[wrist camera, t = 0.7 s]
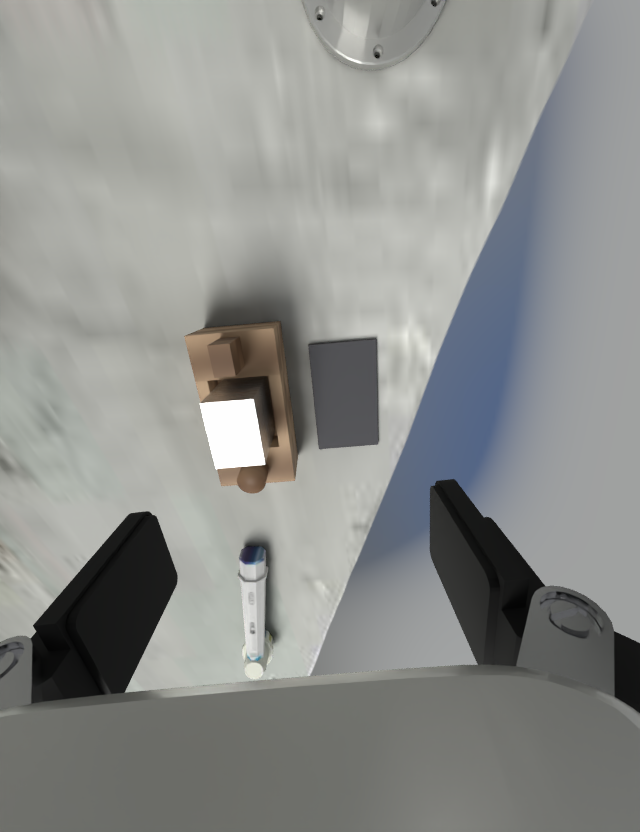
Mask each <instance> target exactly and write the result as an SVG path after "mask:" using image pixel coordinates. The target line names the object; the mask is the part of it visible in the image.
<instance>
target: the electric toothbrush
mask: <svg viewBox="0 0 640 832" xmlns="http://www.w3.org/2000/svg"><path fill="white" fill-rule="evenodd" d="M239 561H240V570H239V573H238V578H239V579H240V582H241V593H242V605H243V616H244V628H245V639H246V641H245V643H244V645H243V648H242V656H243V658H244V660H245V662H244V669H245V673H246V675H247V676H248V677H249V678H251V679H258V678H260V677H261V676H262V675H263V673H264V671H265V670H266V666H267V664H269V662H270V661H271V659H272V657H273V645H272V643H273V636H271V635H270V633H269V631H267V630H265V596H266V578H267V573H268V567H267V566H266V550H265V549H264V548H263V547H259V546H248V547H246V548H244V549H242V550H241V553H240V556H239Z"/></svg>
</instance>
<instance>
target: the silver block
mask: <svg viewBox="0 0 640 832" xmlns="http://www.w3.org/2000/svg"><path fill="white" fill-rule="evenodd" d="M200 407H201V411H202V415H203V419H204V423H205V427H206V431H207V435H208V439H209V443H210V447H211V451H212V455H213V459H214V463H215V467H216V468H229V467H242V466H255V465H265V464H266V460H267V457H268V453H269V450H270V446H271V443H272V440H273V436H274V433H275V426H274V419H273V413H272V407H271V400H270V394H269V388H268V381H267V376H257V377H245V378H234V379H223V380H222V381H221V382H220V383H219V384H218V385H217V386H216V387H215V388H214V389H213V390H212V391H211V392H210V393H209V394H208V395H207V396H206V397H205V399H204V400H203V401H202V402H201V403H200Z"/></svg>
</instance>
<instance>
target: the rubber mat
mask: <svg viewBox="0 0 640 832" xmlns="http://www.w3.org/2000/svg"><path fill="white" fill-rule="evenodd" d="M309 355H310V365H311V375H312V385H313V395H314V405H315V415H316V425H317V435H318V445H319V449H326V448H339V447H351V446H364V445H377V444H378V411H377V358H376V339H367V340H356V341H345V342H333V343H322V344H311V345H309Z"/></svg>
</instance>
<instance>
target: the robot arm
mask: <svg viewBox="0 0 640 832" xmlns="http://www.w3.org/2000/svg"><path fill="white" fill-rule="evenodd" d="M302 1H303V6H304V9H305V12H306V14H307V17H308V20H309V22H310V25H311V27H312V29H313V30H314V32H315V34H316V36H317V37H318V39H319V41H320V42H321V43H322V44H323V45H324V47H325V48H326V49H327V50H328V52H329V53H331V54H332V55H333V56H334V57H336V58H337V59H338V60H339V61H340V62H342V63H344V64H347V65H349V66H351V67H353V68H357V69H362V70H366V71H367V70H381V69H384V68H387V67H391V66H394V65H395V64H397V63H399V62H401V61H402V60H404V59H406V58H407V57H408V56H409V55H410V54H412V53H413V52H414V51H415V50H416V49H417V48H418V47H419V46H420V45H421V43H422V42H423V41H424V40H425V38H426V37H427V36H428V35H429V33H430V31H431V30H432V28H433V26H434V24H435V23H436V21H437V19H438V17H439V15H440V13H441V10H442V8H443V6H444V4H445V1H446V0H302ZM432 4H434V6H435V7H434V6H432ZM318 18H322V19H323V20H321V21H320V20H317V19H318ZM375 55H378V56H379V58H375V57H374V56H375ZM430 553H431V558H432V561H433V563H434V566H435V568H436V570H437V573H438V575H439V577H440V579H441V582H442V584H443V586H444V588H445V591H446V593H447V595H448V598H449V600H450V602H451V605H452V607H453V609H454V611H455V614H456V616H457V618H458V620H459V623H460V625H461V627H462V630H463V632H464V634H465V636H466V639H467V641H468V643H469V645H470V648H471V650H472V652H473V655H474V657H475V659H476V661H477V663H478V665H454V666H438V667H422V668H406V669H392V670H380V671H367V672H355V673H343V674H331V675H318V676H306V677H294V678H283V679H271V680H260V681H248V682H237V683H226V684H214V685H203V686H192V687H181V688H171V689H160V690H149V691H139V692H128V693H124V692H125V690H126V688H127V686H128V684H129V682H130V680H131V678H132V676H133V674H134V672H135V670H136V668H137V666H138V664H139V661H140V659H141V657H142V655H143V653H144V651H145V649H146V647H147V645H148V643H149V641H150V639H151V637H152V635H153V633H154V631H155V628H156V626H157V624H158V622H159V620H160V618H161V616H162V614H163V612H164V610H165V608H166V606H167V604H168V602H169V600H170V598H171V595H172V593H173V591H174V589H175V587H176V585H177V579H178V578H177V572H176V570H175V567H174V564H173V561H172V558H171V556H170V553H169V550H168V547H167V544H166V542H165V539H164V536H163V533H162V530H161V528H160V525H159V522H158V519H157V517H156V516H155V515H152V514H151V513H150V512H148V511H147V512H137V513H131V514H129V515H128V516H127V517H126V518H125V519H124V521H123V522H122V523H121V524H120V525H119V526H118V527H117V529H116V530H115V531H114V532H113V533H112V534H111V536H110V537H109V538H108V539H107V540H106V541H105V543H104V544H103V545H102V546H101V547H100V548H99V550H98V551H97V552H96V553H95V554H94V555H93V557H92V558H91V559H90V560H89V561H88V562H87V563H86V565H85V566H84V567H83V568H82V569H81V570H80V572H79V573H78V574H77V575H76V576H75V577H74V579H73V580H72V581H71V582H70V583H69V584H68V586H67V587H66V588H65V589H64V590H63V591H62V593H61V594H60V595H59V596H58V597H57V598H56V599H55V601H54V602H53V603H52V604H51V605H50V606H49V608H48V609H47V610H46V611H45V612H44V613H43V615H42V616H41V617H40V618H39V619H38V620H37V622H36V623H35V624H34V625H33V627H34V628H35V630H36V633H35V634H34V635H33V637H32V638H29V637H27V636H16V637H12V638H8V639H6V640H4V641H2V642H0V832H640V643H638V642H636V641H634V640H632V639H630V638H628V637H625V636H623V635H621V634H619V633H617V632H615V631H614V629H613V625H612V622H611V620H610V619H609V617H608V616H607V614H606V613H605V612H604V611H603V610H602V609H601V608H600V607H599V606H598V605H597V604H596V603H595V602H593V601H592V600H591V599H589V598H588V597H586V596H585V595H582V594H580V593H578V592H576V591H574V590H571V589H567V588H564V587H560V586H545V585H544V584H543V583H542V582H541V580H540V579H539V578H538V576H537V575H536V574H535V572H534V571H533V570H532V569H531V568H530V566H529V565H528V564H527V562H526V561H525V560H524V559H523V557H522V556H521V555H520V553H519V552H518V551H517V550H516V549H515V547H514V546H513V545H512V543H511V542H510V541H509V540H508V539H507V537H506V536H505V535H504V533H503V532H502V531H501V529H500V528H499V527H498V526H497V524H496V523H495V522H494V521H493V520H492V519H491V518H489V517H485V518H484V517H483V516H482V515H481V513H480V512H479V511H478V509H477V508H476V507H475V505H474V504H473V503H472V501H471V500H470V499H469V497H468V496H467V495H466V494H465V492H464V491H463V490H462V488H461V487H460V486H459V484H458V483H457V482H456V481H455V480H454V479H451V480H442V481H436V483H435V486H431V488H430Z"/></svg>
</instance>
